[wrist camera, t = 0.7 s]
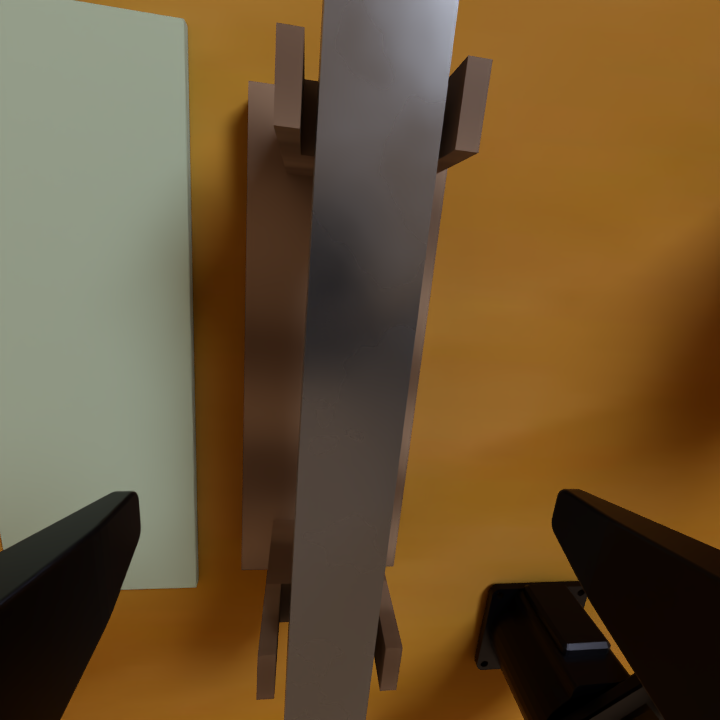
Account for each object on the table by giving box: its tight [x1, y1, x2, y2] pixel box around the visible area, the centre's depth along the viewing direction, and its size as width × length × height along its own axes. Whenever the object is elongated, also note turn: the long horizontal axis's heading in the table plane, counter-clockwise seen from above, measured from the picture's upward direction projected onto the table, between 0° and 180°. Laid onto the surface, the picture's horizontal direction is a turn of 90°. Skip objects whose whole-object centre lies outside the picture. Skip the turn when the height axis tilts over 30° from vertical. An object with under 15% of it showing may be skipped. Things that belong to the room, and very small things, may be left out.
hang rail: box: [284, 0, 459, 720], centre depth 13 cm, size 24×3×3 cm, turn 175°
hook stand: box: [242, 23, 492, 700], centre depth 16 cm, size 22×8×8 cm, turn 175°
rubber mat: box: [0, 0, 199, 590], centre depth 18 cm, size 26×9×1 cm, turn 175°
